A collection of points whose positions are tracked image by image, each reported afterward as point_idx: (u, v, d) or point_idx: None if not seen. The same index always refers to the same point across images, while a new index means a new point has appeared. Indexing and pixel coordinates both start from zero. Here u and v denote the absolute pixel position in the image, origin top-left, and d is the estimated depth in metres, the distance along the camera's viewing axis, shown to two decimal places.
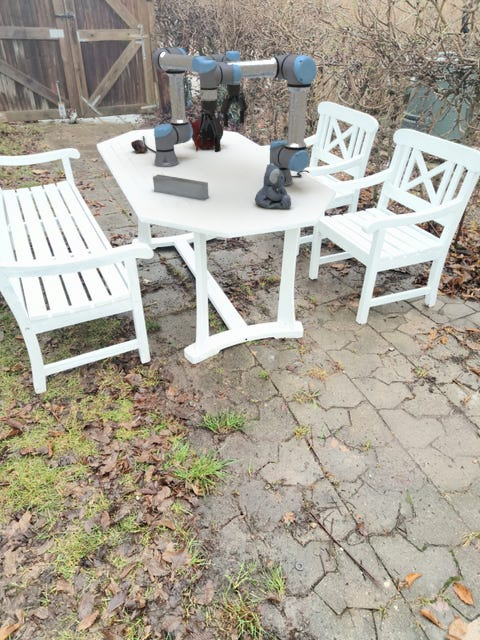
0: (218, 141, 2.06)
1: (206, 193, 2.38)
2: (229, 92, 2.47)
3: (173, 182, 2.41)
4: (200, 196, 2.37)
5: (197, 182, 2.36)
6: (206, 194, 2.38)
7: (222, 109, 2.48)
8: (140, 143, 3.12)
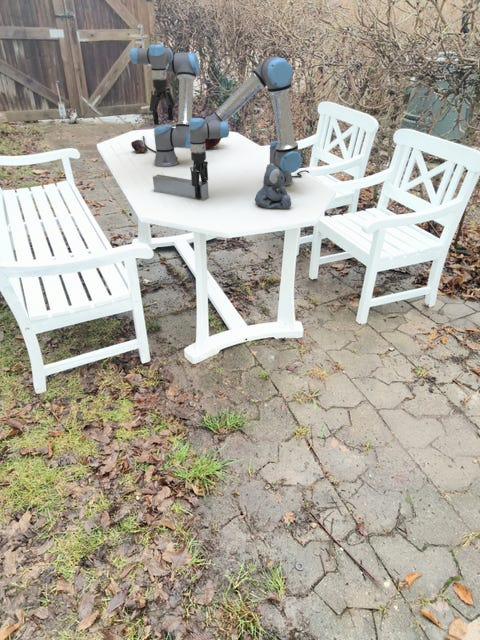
0: None
1: (206, 193, 2.38)
2: (156, 88, 2.35)
3: (173, 182, 2.41)
4: (200, 196, 2.37)
5: None
6: (206, 194, 2.38)
7: (151, 106, 2.35)
8: (140, 143, 3.12)
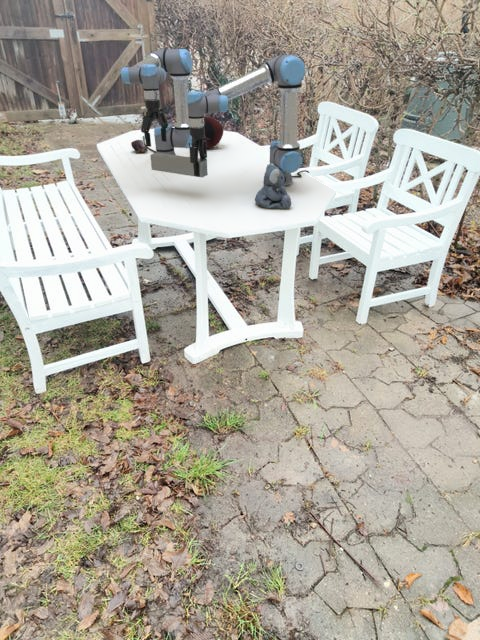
0: None
1: (205, 170, 2.31)
2: (148, 109, 2.26)
3: (171, 160, 2.34)
4: (199, 174, 2.30)
5: None
6: (205, 172, 2.32)
7: (143, 127, 2.26)
8: (140, 143, 3.12)
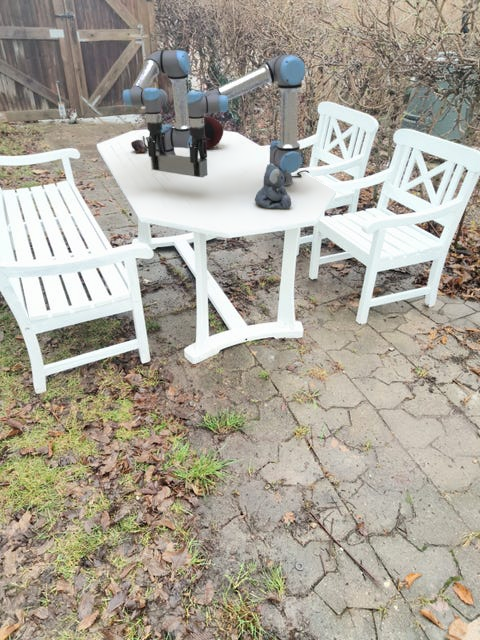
0: None
1: (205, 170, 2.31)
2: (151, 131, 2.29)
3: (171, 160, 2.34)
4: (199, 174, 2.30)
5: None
6: (205, 172, 2.32)
7: (150, 153, 2.33)
8: (140, 143, 3.12)
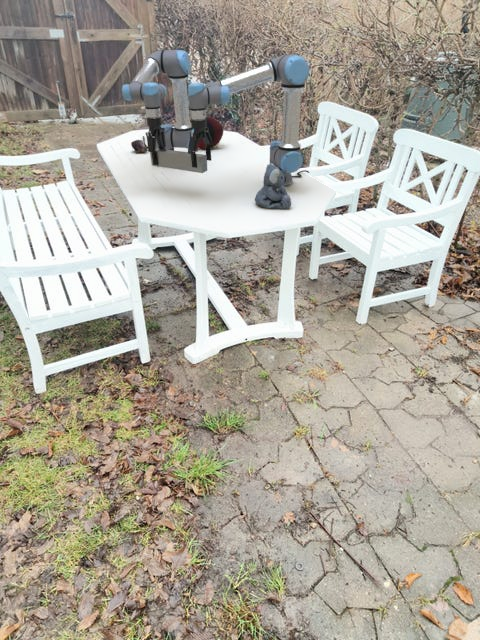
0: None
1: (205, 166, 2.30)
2: (150, 126, 2.28)
3: (170, 155, 2.33)
4: (199, 169, 2.29)
5: None
6: (205, 167, 2.30)
7: (149, 148, 2.32)
8: (140, 143, 3.12)
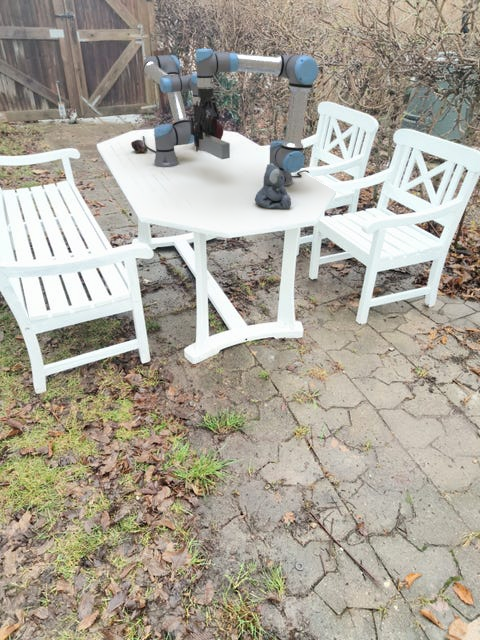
0: None
1: (226, 153, 2.49)
2: (194, 112, 2.58)
3: (205, 139, 2.59)
4: (220, 155, 2.50)
5: (221, 142, 2.49)
6: (226, 154, 2.49)
7: (191, 131, 2.62)
8: (140, 143, 3.12)
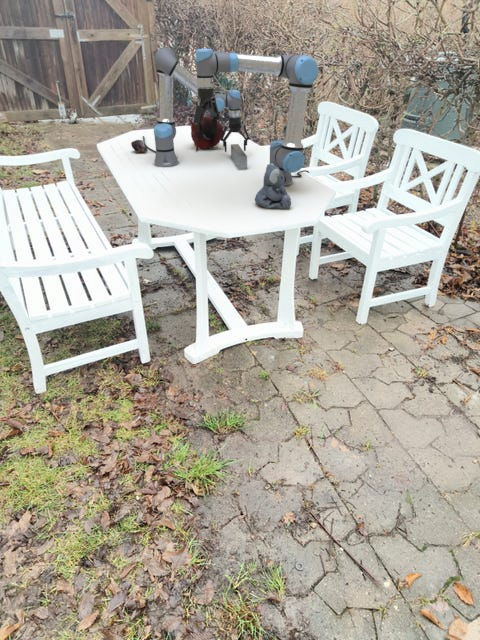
0: None
1: (244, 165, 2.81)
2: (229, 123, 2.93)
3: (234, 151, 2.94)
4: (238, 166, 2.83)
5: (241, 154, 2.82)
6: (244, 166, 2.82)
7: (221, 137, 2.97)
8: (140, 143, 3.12)
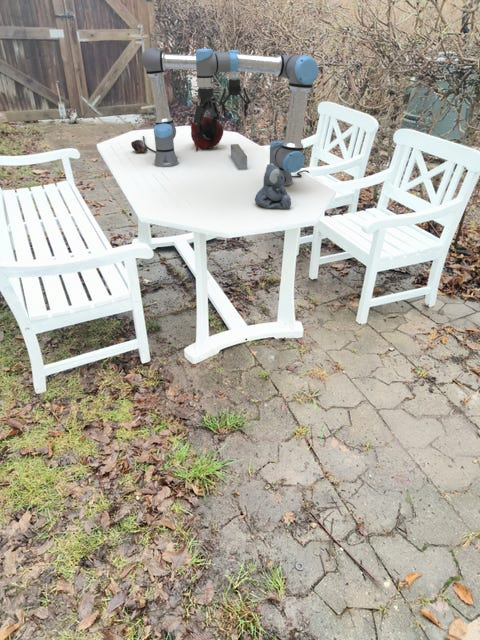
0: None
1: (244, 165, 2.81)
2: (228, 86, 2.81)
3: (234, 151, 2.94)
4: (238, 166, 2.83)
5: (241, 154, 2.82)
6: (244, 166, 2.82)
7: (220, 100, 2.85)
8: (140, 143, 3.12)
